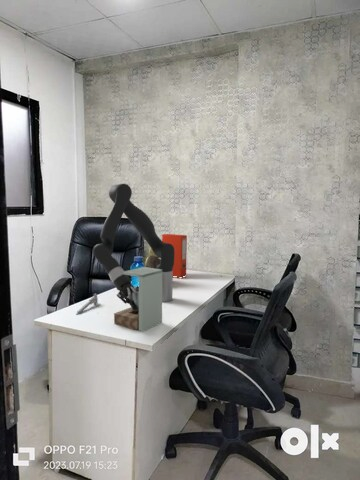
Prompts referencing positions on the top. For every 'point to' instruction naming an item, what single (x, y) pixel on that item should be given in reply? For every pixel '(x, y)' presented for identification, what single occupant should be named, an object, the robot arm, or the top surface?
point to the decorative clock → (152, 260)
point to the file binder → (178, 252)
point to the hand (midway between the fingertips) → (138, 307)
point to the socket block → (127, 319)
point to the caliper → (88, 303)
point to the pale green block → (149, 296)
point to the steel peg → (136, 299)
